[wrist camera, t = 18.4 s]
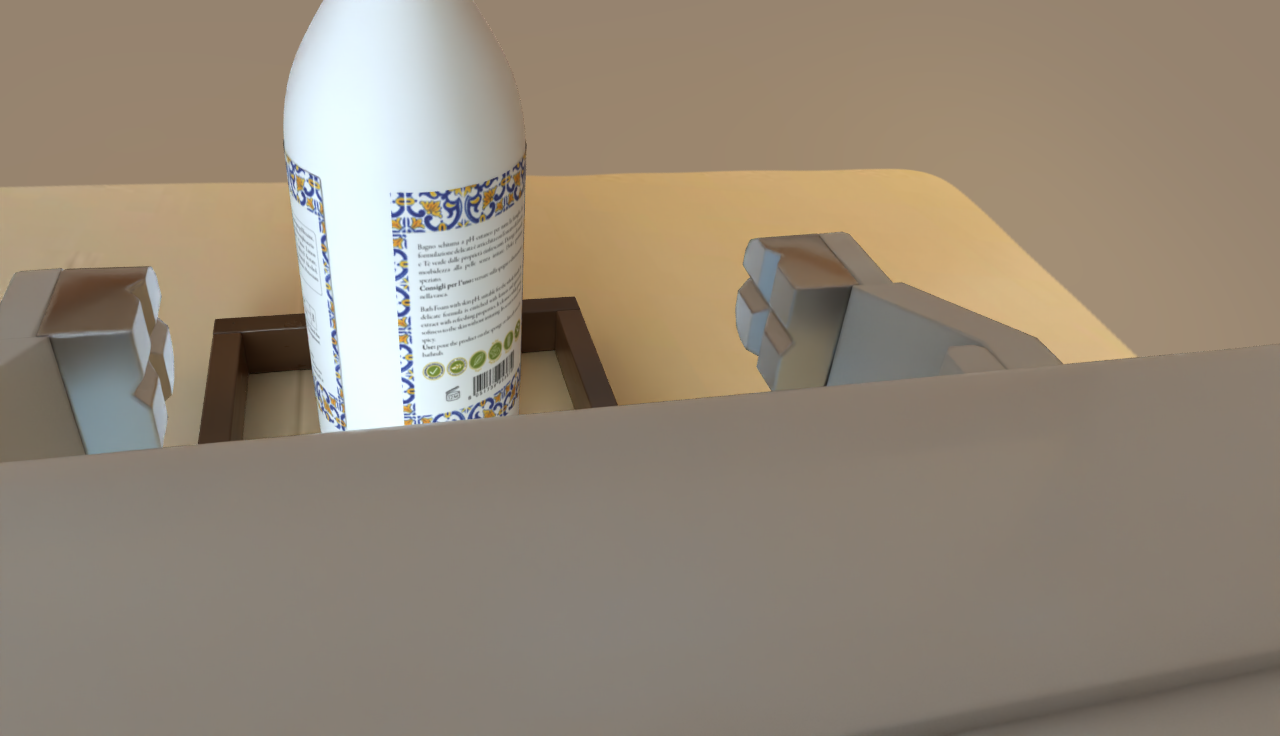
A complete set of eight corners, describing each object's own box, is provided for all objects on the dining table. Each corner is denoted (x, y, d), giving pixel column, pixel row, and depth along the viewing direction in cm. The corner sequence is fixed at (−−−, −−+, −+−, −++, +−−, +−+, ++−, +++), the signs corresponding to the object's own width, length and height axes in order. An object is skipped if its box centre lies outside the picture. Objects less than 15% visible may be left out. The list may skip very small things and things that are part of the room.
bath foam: (544, 406, 38) (571, -181, 26) (474, 527, 32) (468, -148, 21) (379, 366, 39) (334, -214, 27) (284, 476, 33) (176, -192, 22)
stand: (654, 557, 32) (660, 513, 31) (191, 621, 28) (178, 573, 27) (572, 335, 42) (575, 295, 41) (222, 361, 38) (214, 318, 37)
